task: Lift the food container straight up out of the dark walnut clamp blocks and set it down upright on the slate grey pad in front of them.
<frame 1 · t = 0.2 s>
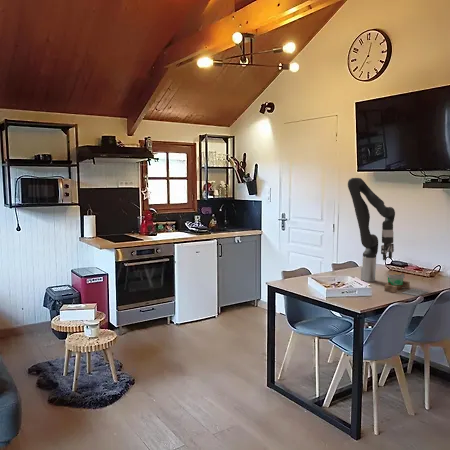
hand: (387, 259, 316), 17 cm above the table, tool pointing down, fingers open, 8 cm apart
clamp blocks: (397, 289, 303), on the table
food container: (397, 289, 303), on the table
slate pad: (414, 292, 294), on the table
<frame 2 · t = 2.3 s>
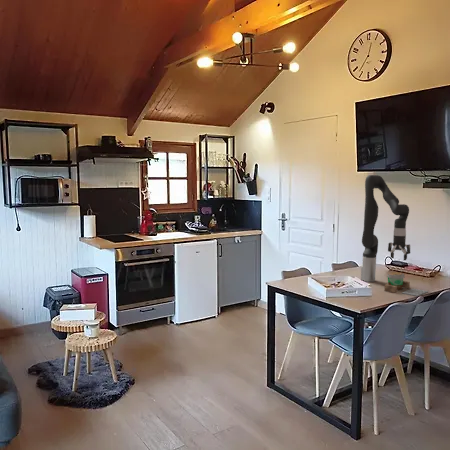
hand: (398, 259, 301), 20 cm above the table, tool pointing down, fingers open, 8 cm apart
nothing on the table moved.
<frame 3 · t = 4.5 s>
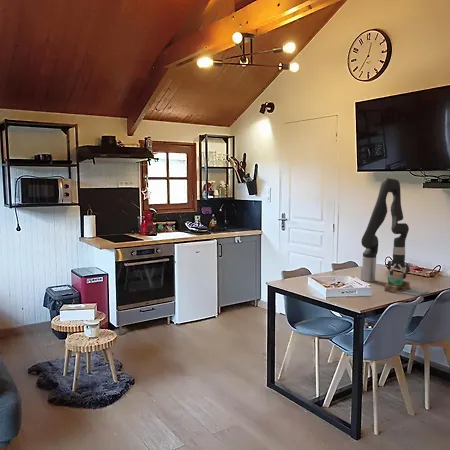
hand: (398, 277, 302), 8 cm above the table, tool pointing down, fingers open, 8 cm apart
nothing on the table moved.
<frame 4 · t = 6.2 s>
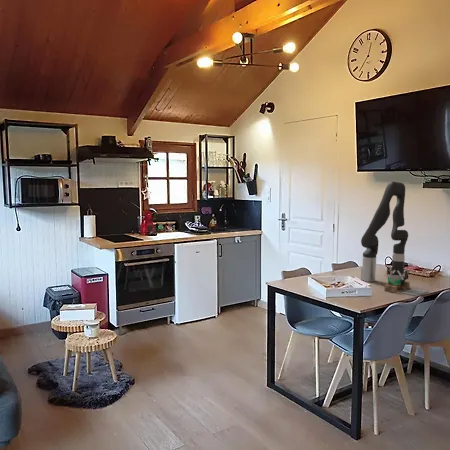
hand: (397, 284, 303), 3 cm above the table, tool pointing down, fingers closed on food container, 7 cm apart
food container: (397, 289, 303), on the table, touching gripper
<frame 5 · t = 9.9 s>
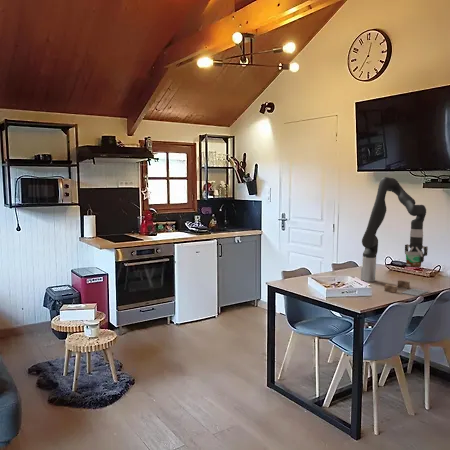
hand: (415, 261, 293), 20 cm above the table, tool pointing down, fingers closed on food container, 7 cm apart
food container: (415, 267, 293), point 17 cm above the table, touching gripper
when the fingers open (5 cm above the table, at t = 13.9 s): food container drops 1 cm, resting on slate pad.
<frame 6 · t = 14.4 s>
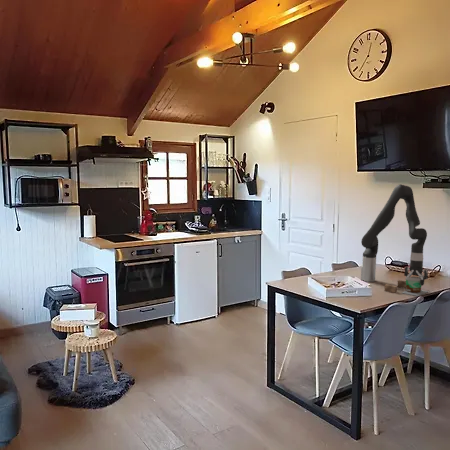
hand: (415, 284, 294), 6 cm above the table, tool pointing down, fingers open, 8 cm apart
food container: (415, 292, 294), resting on slate pad
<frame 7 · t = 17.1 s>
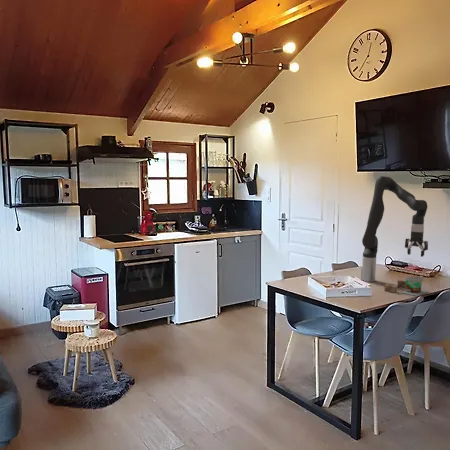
hand: (415, 255, 296), 23 cm above the table, tool pointing down, fingers open, 8 cm apart
nothing on the table moved.
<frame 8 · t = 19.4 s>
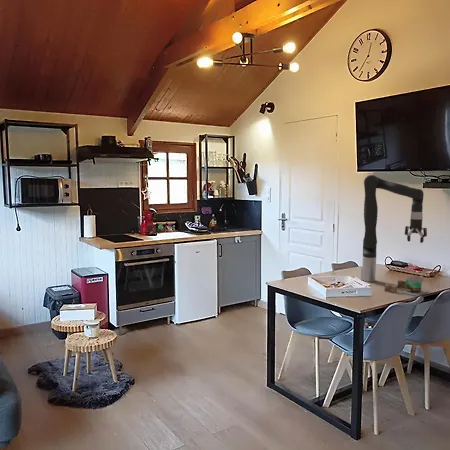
hand: (415, 242, 311), 30 cm above the table, tool pointing down, fingers open, 8 cm apart
nothing on the table moved.
at the end: food container inside the target area (0.6 cm from its centre), resting on slate pad; food container tilted 0°; the gripper is holding nothing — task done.
